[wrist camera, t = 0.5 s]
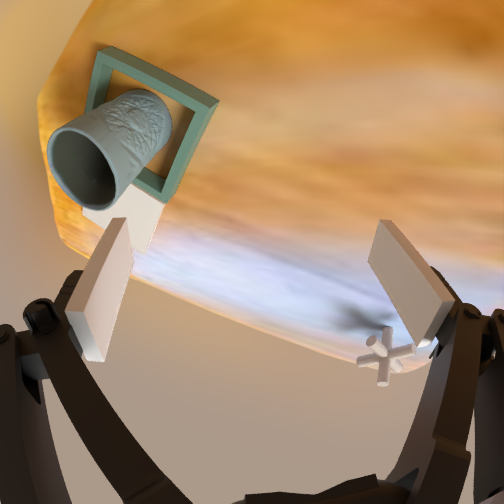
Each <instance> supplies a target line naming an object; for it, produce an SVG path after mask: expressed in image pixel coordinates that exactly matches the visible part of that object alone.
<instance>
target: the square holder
mask: <svg viewBox="0 0 504 504" xmlns="http://www.w3.org/2000/svg"><path fill="white" fill-rule="evenodd" d="M113 68H114V69H116V70H118V71H120V72H122V73H124V74H126V75H128V76H130V77H132V78H134V79H136V80H138V81H140V82H142V83H144V84H145V85H147V86H149V87H151V88H153V89H155V90H157V91H159V92H161V93H163V94H164V95H166V96H168V97H170V98H172V99H174V100H175V101H177V102H179V103H181V104H183V105H184V106H186V107H188V108H190V109H191V110H193V111H195V114H194V117H193V119H192V121H191V123H190V125H189V128H188V130H187V132H186V134H185V137H184V139H183V141H182V143H181V146H180V148H179V150H178V153H177V155H176V157H175V160H174V162H173V165H172V167H171V169H170V172H169V174H168V177H167V179H166V180H165V179H163V178H162V177H160V176H158V175H157V174H155V173H154V172H152V171H150V170H149V169H147V168H145V167H143V169H142V171H141V172H140V173H139V174H138V175H137V177H136V178H135V179H134V180H133V181H132V183H133V184H135V185H137V186H138V187H140V188H141V189H143V190H145V191H146V192H148V193H149V194H151V195H153V196H154V197H156V198H157V199H159V200H161V201H162V202H164V203H165V204H167V202H168V201H169V200H170V199H171V198H172V196H173V195H174V194H175V193H176V190H177V188H178V186H179V184H180V181H181V179H182V177H183V175H184V172H185V170H186V168H187V166H188V164H189V162H190V160H191V157H192V155H193V153H194V151H195V149H196V147H197V145H198V143H199V141H200V139H201V137H202V135H203V133H204V131H205V129H206V127H207V125H208V123H209V121H210V119H211V117H212V115H213V113H214V111H215V109H216V107H217V105H218V103H219V100H217V99H216V98H214V97H212V96H210V95H209V94H207V93H205V92H203V91H201V90H200V89H198V88H196V87H194V86H192V85H190V84H189V83H187V82H185V81H183V80H181V79H179V78H177V77H175V76H173V75H171V74H170V73H168V72H166V71H164V70H162V69H160V68H158V67H156V66H154V65H152V64H149V63H147V62H145V61H143V60H141V59H139V58H137V57H135V56H133V55H130V54H128V53H126V52H124V51H122V50H119V49H117V48H115V47H113V46H110V47H108V48H105V49H102V50H99V51H98V52H97V56H96V60H95V64H94V68H93V72H92V77H91V81H90V86H89V91H88V96H87V101H86V107H85V112H84V114H85V113H87V112H89V111H91V110H94V109H96V108H98V107H99V106H100V105H102V104H104V103H105V98H106V94H107V90H108V86H109V82H110V78H111V75H112V71H113Z"/></svg>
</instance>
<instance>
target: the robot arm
mask: <svg viewBox="0 0 504 504" xmlns="http://www.w3.org/2000/svg"><path fill="white" fill-rule="evenodd" d="M368 263H369V265H370V266H371V268H372V269H373V271H374V273H375V274H376V276H377V278H378V279H379V281H380V283H381V284H382V286H383V288H384V289H385V291H386V293H387V295H388V296H389V298H390V300H391V301H392V303H393V305H394V307H395V308H396V310H397V312H398V314H399V316H400V317H401V319H402V321H403V323H404V324H405V326H406V328H407V330H408V332H409V334H410V335H411V337H412V339H413V341H414V343H415V345H416V347H417V348H419V347H424V346H429V345H430V344H431V343H432V341H433V339H434V338H435V336H436V338H437V339H438V341H439V342H438V344H437V345H436V347H435V349H434V350H433V352H432V353H431V355H430V356H429V359H431V357H432V356H433V359H432V363H431V367H430V370H429V374H428V378H427V381H426V385H425V388H424V391H423V394H422V397H421V401H420V403H419V406H418V409H417V412H416V415H415V418H414V421H413V424H412V426H411V429H410V432H409V434H408V437H407V440H406V442H405V444H404V447H403V450H402V452H401V454H400V457H399V459H398V461H397V464H396V466H395V468H394V469H393V470H392V472H391V473H390V474H389V475H388V477H387V478H386V480H378V479H377V477H376V474H372V475H368V476H364V477H361V478H356V479H352V480H348V481H345V482H343V483H341V484H339V485H336V486H335V487H332V488H330V489H328V490H326V491H323V492H321V493H319V494H315V495H311V494H296V493H287V492H273V493H261V494H248V495H247V494H246V495H245V498H244V500H241V501H237V502H235V503H232V504H458V501H459V499H460V495H461V492H462V489H463V486H464V483H465V479H466V476H467V472H468V468H469V465H470V461H471V453H470V452H469V451H466V442H467V439H468V434H469V430H470V425H471V419H472V415H473V409H474V417H475V469H474V492H473V495H474V504H504V310H502V309H495V310H494V312H493V314H492V315H491V316H485V315H482V314H481V312H480V310H479V309H477V308H476V307H475V306H473V305H472V304H469V303H463V302H462V301H461V300H460V298H459V297H458V296H457V294H456V293H455V292H454V290H453V289H452V288H451V286H449V284H448V282H447V281H445V278H444V277H443V276H442V275H441V273H440V272H439V271H437V270H436V269H435V268H433V267H432V266H429V265H428V264H427V262H426V261H425V260H424V259H423V257H422V256H421V255H420V254H419V252H418V251H417V250H416V249H415V248H414V246H413V245H412V244H411V243H410V242H409V240H408V239H407V238H406V237H405V236H404V235H403V233H402V232H401V231H400V230H399V229H398V228H397V226H396V225H395V224H394V223H393V222H392V221H391V220H379V223H378V227H377V230H376V234H375V238H374V241H373V245H372V248H371V252H370V255H369V258H368ZM133 265H134V259H133V253H132V248H131V242H130V236H129V229H128V223H127V217H122V218H112V220H111V221H110V223H109V225H108V227H107V228H106V230H105V232H104V234H103V235H102V237H101V239H100V241H99V243H98V245H97V246H96V248H95V250H94V252H93V254H92V256H91V258H90V259H89V262H88V263H87V265H86V267H85V269H84V270H75V271H73V272H72V273H71V274H70V275H69V276H68V277H67V278H66V280H65V282H64V284H63V287H62V288H61V290H60V291H59V294H58V296H57V297H56V299H55V302H54V303H53V302H52V301H51V300H49V299H47V298H40V299H37V300H34V301H33V302H31V303H30V304H28V306H27V307H26V308H25V310H24V312H23V319H24V321H25V323H26V325H27V326H28V328H29V330H27V331H21V332H16V331H15V329H14V328H13V327H12V326H11V325H8V324H2V325H0V501H1V504H72V502H71V500H70V497H69V494H68V491H67V488H66V485H65V482H64V478H63V476H62V472H61V469H60V465H59V461H58V458H57V455H56V450H55V446H54V442H53V438H52V434H51V429H50V425H49V420H48V415H47V409H46V404H45V398H44V392H43V385H42V379H49V378H50V380H51V382H52V384H53V386H54V388H55V391H56V392H57V395H58V397H59V399H60V401H61V403H62V405H63V406H64V409H65V410H66V412H67V414H68V416H69V418H70V420H71V422H72V423H73V425H74V427H75V429H76V431H77V432H78V434H79V436H80V437H81V439H82V441H83V442H84V444H85V446H86V447H87V449H88V451H89V452H90V454H91V455H92V457H93V458H94V460H95V462H96V463H97V465H98V466H99V468H100V469H101V471H102V472H103V473H104V475H105V476H106V478H107V479H108V481H109V482H110V483H111V485H112V486H113V488H114V489H115V490H116V491H117V493H118V494H119V496H120V497H121V499H122V500H123V503H124V504H193V503H192V502H191V501H190V500H189V499H188V498H187V497H186V496H185V495H184V494H183V493H182V492H181V491H180V490H179V489H178V488H177V487H176V486H175V484H173V482H172V481H171V480H170V479H169V478H168V477H167V476H166V475H165V474H164V473H163V472H162V471H161V470H160V469H159V468H158V467H157V465H156V464H155V463H154V462H153V461H152V459H151V458H150V457H149V456H148V455H147V453H146V452H145V451H144V450H143V448H142V447H141V446H140V445H139V443H138V442H137V441H136V440H135V438H134V437H133V435H132V434H131V433H130V431H129V430H128V429H127V427H126V426H125V425H124V423H123V422H122V421H121V419H120V418H119V417H118V415H117V414H116V412H115V411H114V409H113V408H112V407H111V405H110V403H109V402H108V400H107V399H106V397H105V396H104V395H103V393H102V391H101V390H100V388H99V387H98V385H97V383H96V382H95V380H94V379H93V377H92V375H91V374H90V372H89V370H88V369H87V367H86V365H85V364H84V362H83V360H82V358H81V356H82V353H84V355H85V357H86V359H87V360H88V361H98V362H104V361H105V358H106V354H107V350H108V346H109V343H110V339H111V335H112V332H113V328H114V325H115V321H116V318H117V314H118V311H119V308H120V305H121V301H122V298H123V295H124V292H125V289H126V285H127V283H128V279H129V277H130V274H131V271H132V268H133ZM495 352H496V353H495ZM494 353H495V358H494V356H493V354H494Z"/></svg>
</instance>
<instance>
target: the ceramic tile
mask: <svg viewBox="0 0 504 504" xmlns="http://www.w3.org/2000/svg"><path fill="white" fill-rule="evenodd" d="M164 206H165V203H164V202H162V201H161V200H159V199H157V198H156V197H154V196H153V195H151V194H149V193H148V192H146V191H145V190H143V189H141V188H140V187H138V186H137V185H135V184H133V183H132V182H131V184H130V185H129V186H128V187H127V189H126V190H125V191H124V193H123V194H122V195H121V196H120V198H119V199H118V200H117V201H116V203H115V204H114V205H113V206H112V207H110V208H109V209H107V210H104V211H93V210H89V209H87V208H84V207H83V213H82V215H84V216H85V217H87V218H88V219H90V220H91V221H93V222H94V223H96V224H97V225H99V226H100V227H102V228H103V229H105V230H106V228H107V227H108V225H109V223H110V221H111V220H112V218H122V217H127V223H128V229H129V236H130V242H131V247H132V248H133V249H135V250H136V251H138V252H140V253H141V254H143V255H145V254H146V252H147V250H148V247H149V244H150V242H151V239H152V236H153V234H154V231H155V229H156V226H157V224H158V221H159V218H160V216H161V213H162V211H163V209H164Z"/></svg>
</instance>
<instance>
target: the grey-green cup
mask: <svg viewBox="0 0 504 504" xmlns="http://www.w3.org/2000/svg"><path fill="white" fill-rule="evenodd" d="M171 134H172V119H171V115H170V113H169V110H168V108H167V106H166V104H165V103H164V102H163V100H162V99H161V98H160V97H158V96H157V95H156V94H154V93H152V92H150V91H148V90H144V89H135V90H130V91H128V92H126V93H123V94H121V95H120V96H118V97H117V98H115V99H114V100H111V101H109V102H107V103H104V104H102V105H100V106H99V107H98V108H96V109H94V110H91V111H89V112H87V113H85V114H83V115H81V116H79V117H77V118H75V119H74V120H72V121H70V122H69V123H67V124H65V125H64V126H62V127H60V128H59V129H57V130H55V131H54V132H53V134H52V135H51V137H50V139H49V141H48V145H47V158H48V163H49V166H50V169H51V172H52V174H53V176H54V178H55V180H56V181H57V183H58V184H59V186H60V187H61V189H62V190H63V191H64V192H65V193H66V194H67V195H68V196H69V197H70V198H71V199H72V200H73V201H75V202H76V203H78V204H79V205H81V206H82V207H84V208H87V209H89V210H93V211H104V210H107V209H109V208H110V207H112V206H113V205H114V204H115V203H116V201H117V200H118V199H119V198H120V196H121V195H122V194H123V193H124V191H125V190H126V189H127V187H128V186H129V185H130V184H131V182H132V181H133V180H134V179H135V178H136V177H137V175H138V174H139V173H140V172H141V171H142V169H143V167H145V166H146V165H147V164H148V163H149V161H150V160H151V159H152V158H153V157H154V156H155V154H156V153H157V152H158V151H159V150H160V149H161V148H162V147H163V146H164V145H165V144H166V143H167V141H168V140H169V138H170V135H171Z"/></svg>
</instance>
